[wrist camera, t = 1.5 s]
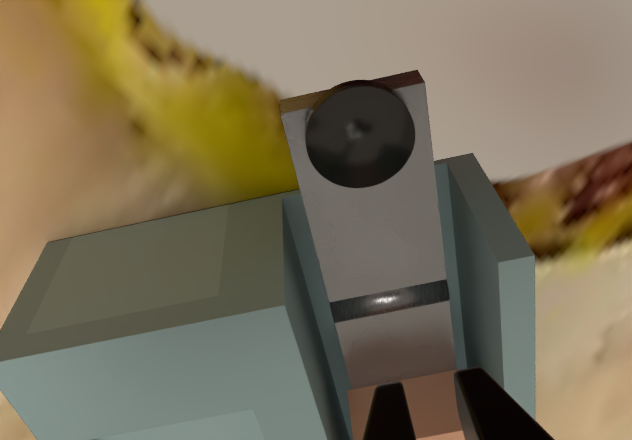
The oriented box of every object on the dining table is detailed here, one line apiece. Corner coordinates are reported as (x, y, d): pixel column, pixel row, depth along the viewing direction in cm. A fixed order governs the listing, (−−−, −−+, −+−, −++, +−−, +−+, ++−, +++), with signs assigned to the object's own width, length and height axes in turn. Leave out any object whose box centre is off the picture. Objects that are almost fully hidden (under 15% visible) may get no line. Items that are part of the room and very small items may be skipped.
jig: (493, 453, 31) (536, 575, 26) (197, 507, 32) (183, 634, 27) (472, 153, 22) (534, 255, 16) (47, 242, 23) (-19, 365, 17)
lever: (461, 453, 27) (472, 490, 26) (375, 469, 28) (380, 506, 26) (414, 50, 17) (427, 72, 15) (276, 81, 17) (276, 106, 16)
